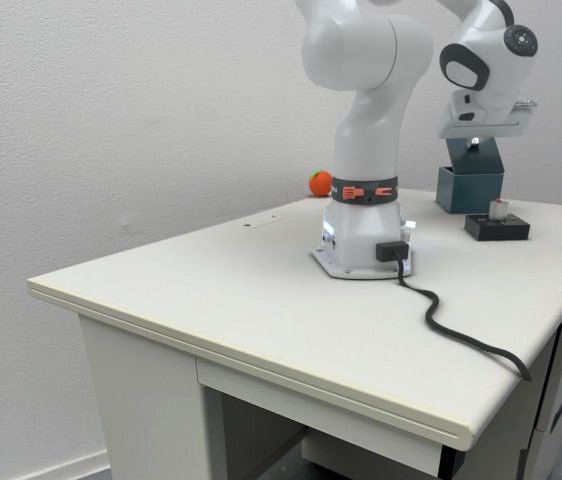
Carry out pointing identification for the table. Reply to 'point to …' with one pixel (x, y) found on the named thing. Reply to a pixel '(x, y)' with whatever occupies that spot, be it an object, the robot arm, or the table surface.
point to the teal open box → (467, 191)
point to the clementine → (320, 183)
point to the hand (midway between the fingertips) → (472, 145)
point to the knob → (498, 210)
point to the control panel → (496, 228)
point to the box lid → (474, 157)
